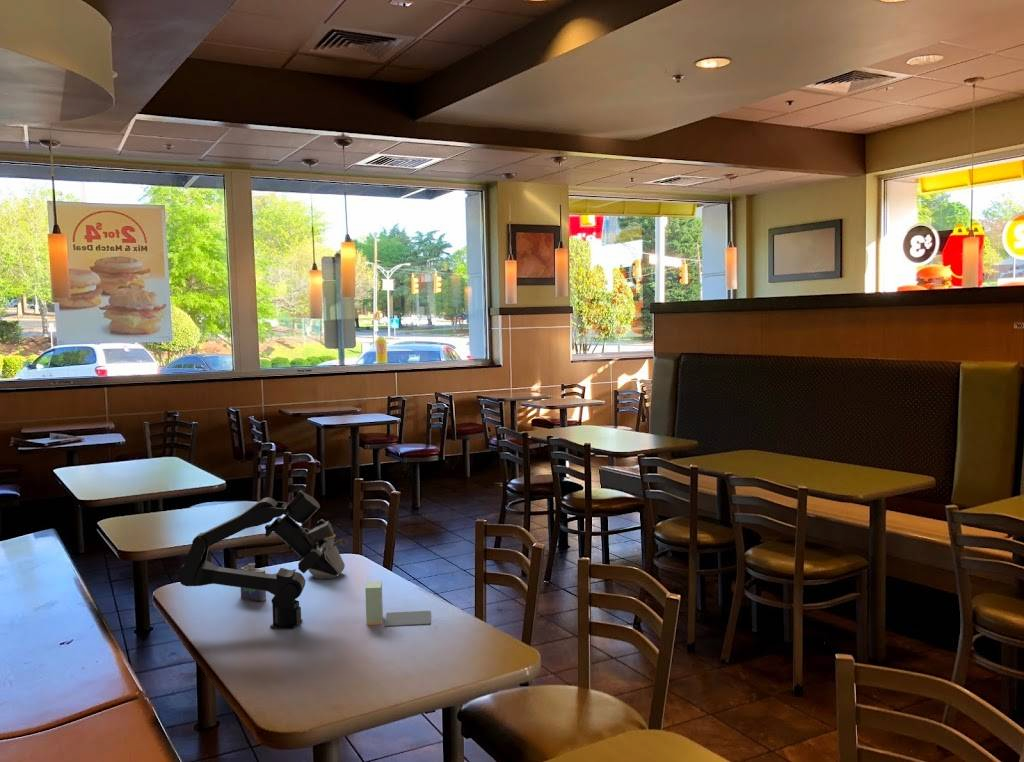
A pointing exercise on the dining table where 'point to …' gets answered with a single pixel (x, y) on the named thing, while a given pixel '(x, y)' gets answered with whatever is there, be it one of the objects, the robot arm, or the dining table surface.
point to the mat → (407, 618)
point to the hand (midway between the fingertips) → (336, 573)
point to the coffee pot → (331, 558)
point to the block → (374, 603)
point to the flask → (252, 593)
